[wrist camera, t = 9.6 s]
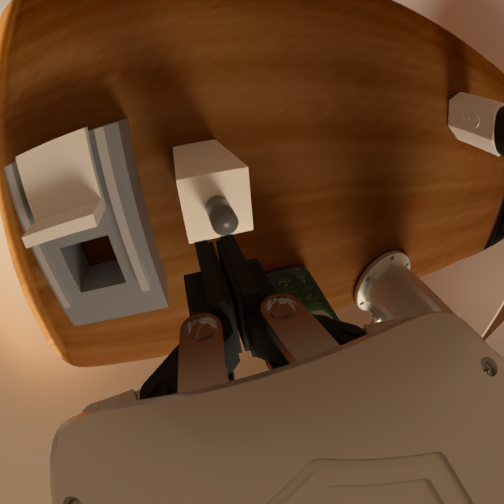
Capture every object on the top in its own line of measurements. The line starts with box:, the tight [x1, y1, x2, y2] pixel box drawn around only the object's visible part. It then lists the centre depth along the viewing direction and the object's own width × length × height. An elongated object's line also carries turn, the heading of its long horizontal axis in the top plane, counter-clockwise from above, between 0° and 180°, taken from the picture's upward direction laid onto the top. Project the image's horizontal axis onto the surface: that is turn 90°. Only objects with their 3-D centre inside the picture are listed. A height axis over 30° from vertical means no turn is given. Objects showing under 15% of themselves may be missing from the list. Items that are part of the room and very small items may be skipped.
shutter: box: [15, 127, 107, 248], centre depth 16 cm, size 7×7×4 cm
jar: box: [448, 92, 504, 156], centre depth 26 cm, size 9×8×12 cm
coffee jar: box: [266, 267, 340, 321], centre depth 30 cm, size 10×8×19 cm
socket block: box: [3, 118, 169, 326], centre depth 23 cm, size 19×12×6 cm, turn 4°
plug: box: [173, 139, 254, 244], centre depth 20 cm, size 4×4×14 cm
